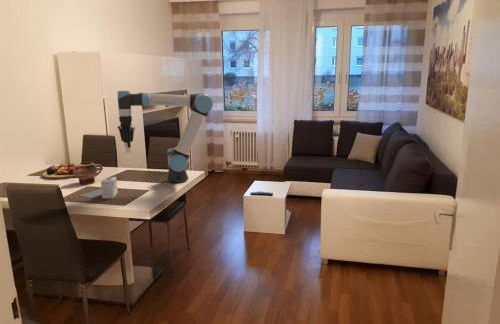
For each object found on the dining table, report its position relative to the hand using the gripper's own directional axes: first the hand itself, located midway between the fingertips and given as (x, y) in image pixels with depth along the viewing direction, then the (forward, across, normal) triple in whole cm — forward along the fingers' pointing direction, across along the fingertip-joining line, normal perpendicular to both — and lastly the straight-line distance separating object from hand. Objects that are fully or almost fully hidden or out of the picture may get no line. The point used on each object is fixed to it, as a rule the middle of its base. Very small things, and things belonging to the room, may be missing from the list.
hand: (128, 152), depth 243 cm
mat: (+25, +13, +16) cm, 32 cm away
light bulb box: (+25, +1, +16) cm, 30 cm away
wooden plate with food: (+25, +75, -7) cm, 80 cm away
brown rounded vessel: (+25, +39, +1) cm, 46 cm away
